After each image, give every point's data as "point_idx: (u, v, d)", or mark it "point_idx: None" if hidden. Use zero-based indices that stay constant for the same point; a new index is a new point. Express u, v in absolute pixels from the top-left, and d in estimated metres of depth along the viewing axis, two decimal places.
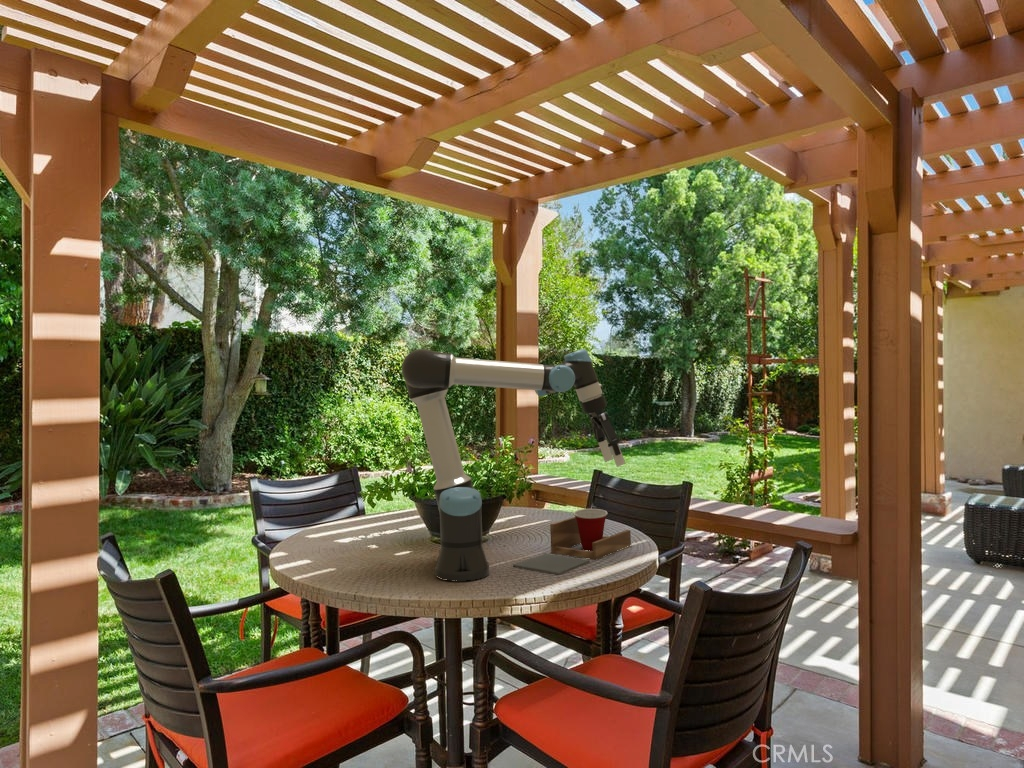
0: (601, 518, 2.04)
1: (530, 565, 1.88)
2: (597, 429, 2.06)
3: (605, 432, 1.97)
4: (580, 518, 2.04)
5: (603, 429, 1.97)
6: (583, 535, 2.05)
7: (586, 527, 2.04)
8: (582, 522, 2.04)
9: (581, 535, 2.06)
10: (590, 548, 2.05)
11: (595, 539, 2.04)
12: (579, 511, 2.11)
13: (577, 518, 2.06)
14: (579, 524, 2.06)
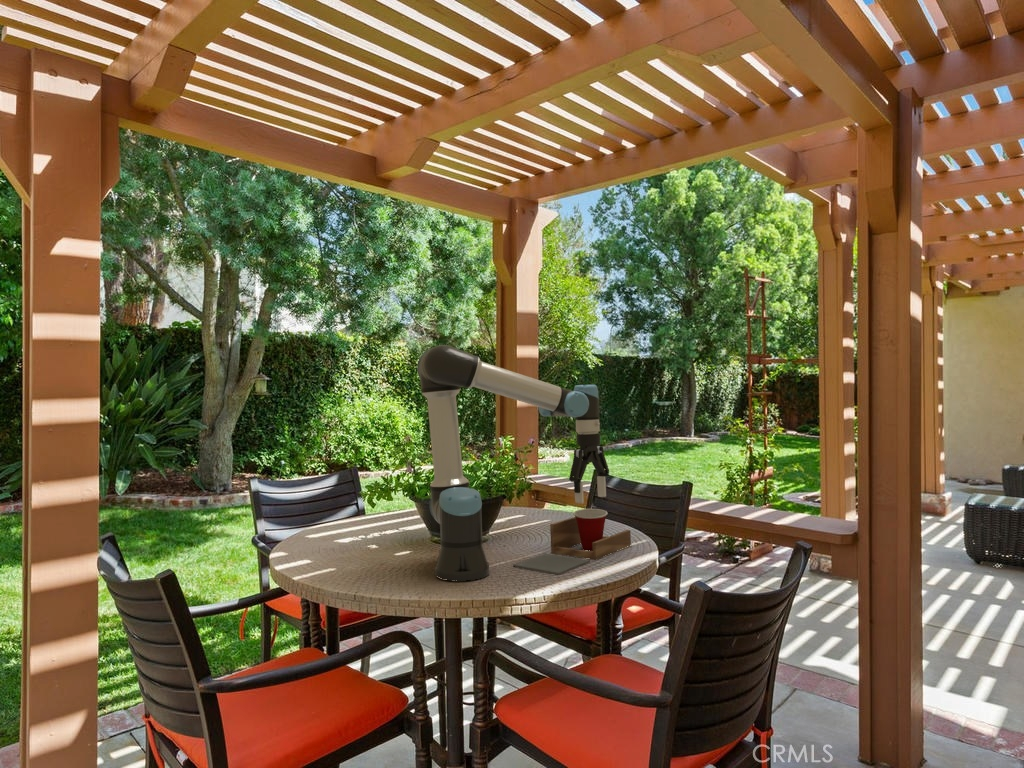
0: (601, 518, 2.04)
1: (530, 565, 1.88)
2: (592, 463, 2.11)
3: None
4: (580, 518, 2.04)
5: None
6: (583, 535, 2.05)
7: (586, 527, 2.04)
8: (582, 522, 2.04)
9: (581, 535, 2.06)
10: (590, 548, 2.05)
11: (595, 539, 2.04)
12: (579, 511, 2.11)
13: (577, 518, 2.06)
14: (579, 524, 2.06)
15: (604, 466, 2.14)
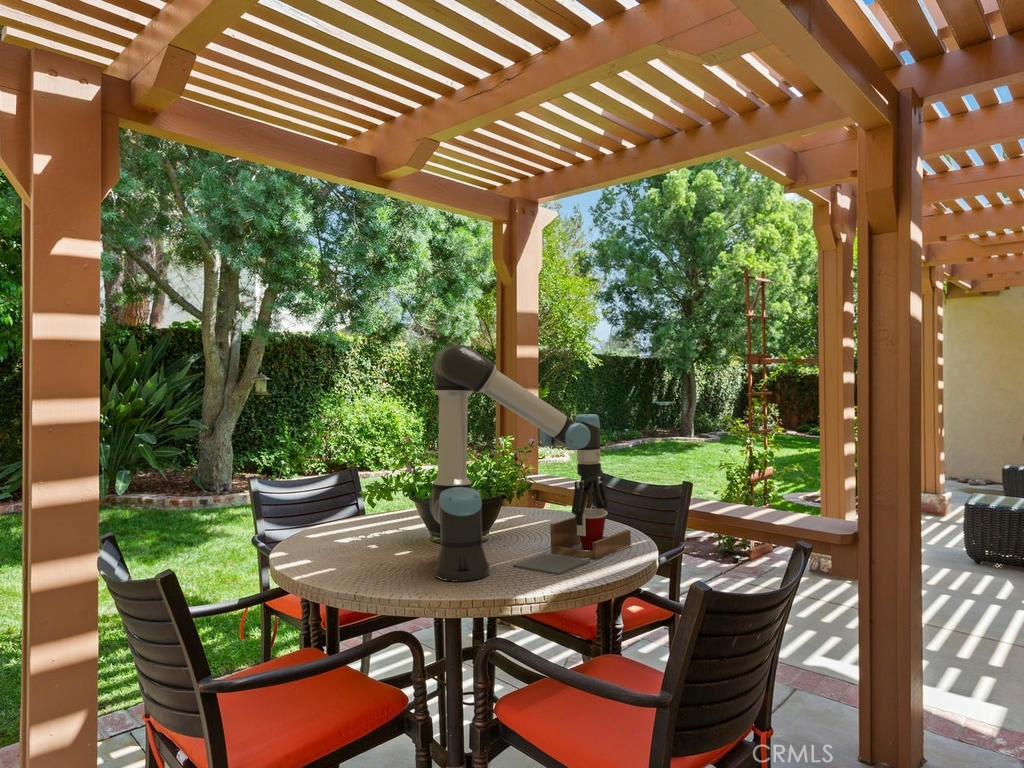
0: (601, 518, 2.04)
1: (530, 565, 1.88)
2: (592, 493, 2.11)
3: None
4: None
5: None
6: None
7: (586, 527, 2.04)
8: None
9: None
10: (590, 548, 2.05)
11: (595, 539, 2.04)
12: None
13: None
14: None
15: (603, 497, 2.13)
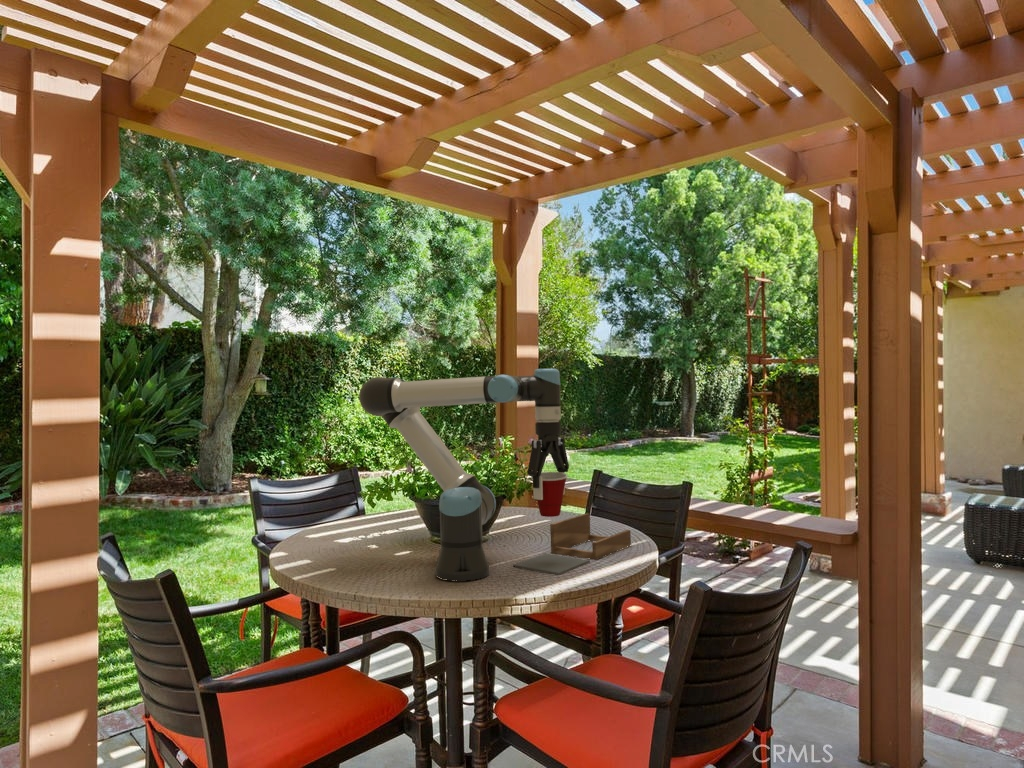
0: (560, 480, 1.87)
1: (530, 565, 1.88)
2: (551, 455, 1.94)
3: None
4: None
5: None
6: None
7: (543, 491, 1.87)
8: None
9: None
10: (548, 513, 1.88)
11: (553, 504, 1.88)
12: None
13: None
14: None
15: (564, 460, 1.96)
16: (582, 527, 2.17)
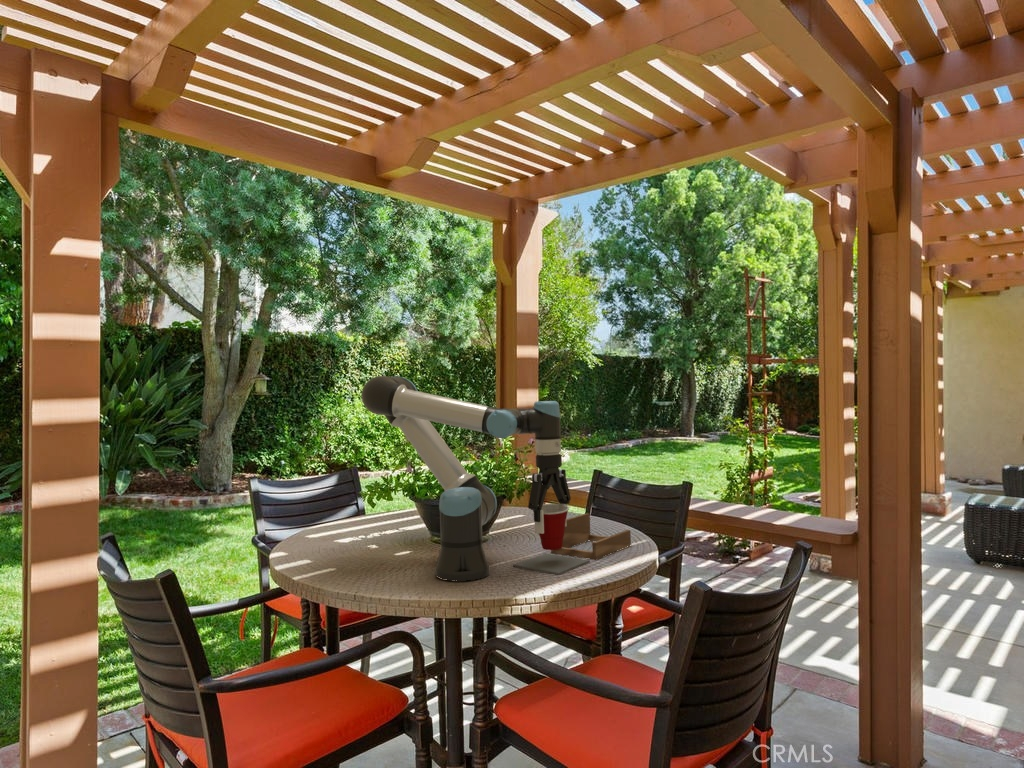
0: (561, 514, 1.86)
1: (530, 565, 1.88)
2: (553, 487, 1.94)
3: None
4: None
5: None
6: None
7: (545, 524, 1.87)
8: None
9: None
10: (550, 547, 1.88)
11: (555, 537, 1.87)
12: None
13: None
14: None
15: (565, 492, 1.96)
16: (582, 527, 2.17)
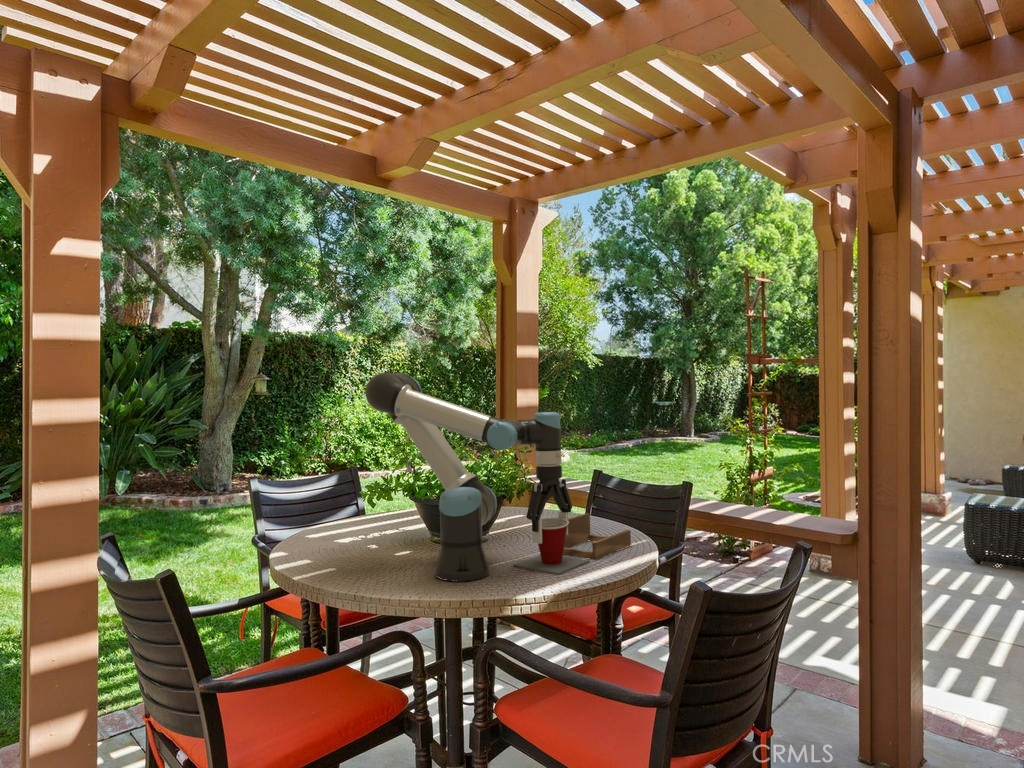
0: (561, 528, 1.86)
1: (530, 565, 1.88)
2: (553, 497, 1.94)
3: None
4: None
5: None
6: (542, 547, 1.88)
7: (545, 539, 1.87)
8: None
9: (540, 547, 1.89)
10: (550, 561, 1.88)
11: (555, 551, 1.87)
12: None
13: None
14: None
15: (566, 501, 1.96)
16: (582, 527, 2.17)
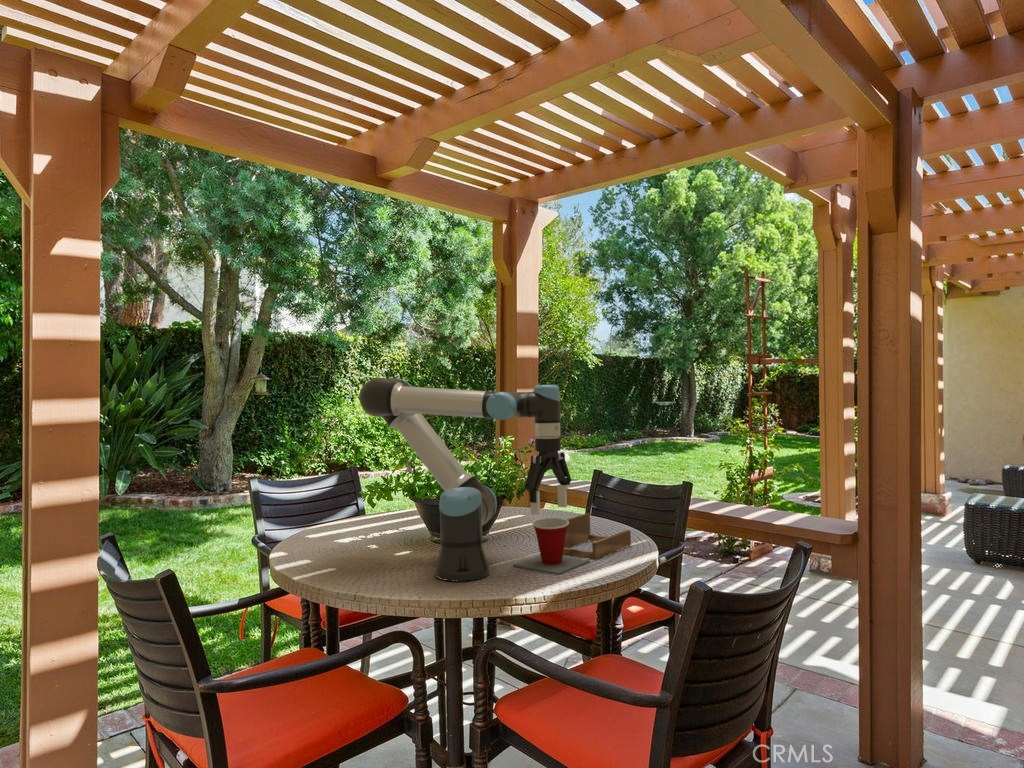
0: (561, 528, 1.86)
1: (530, 565, 1.88)
2: (552, 470, 1.94)
3: None
4: (539, 529, 1.87)
5: None
6: (542, 547, 1.88)
7: (545, 539, 1.87)
8: (541, 533, 1.87)
9: (540, 547, 1.89)
10: (550, 561, 1.88)
11: (555, 551, 1.87)
12: (539, 520, 1.94)
13: (535, 528, 1.89)
14: (538, 535, 1.89)
15: (565, 474, 1.96)
16: (582, 527, 2.17)
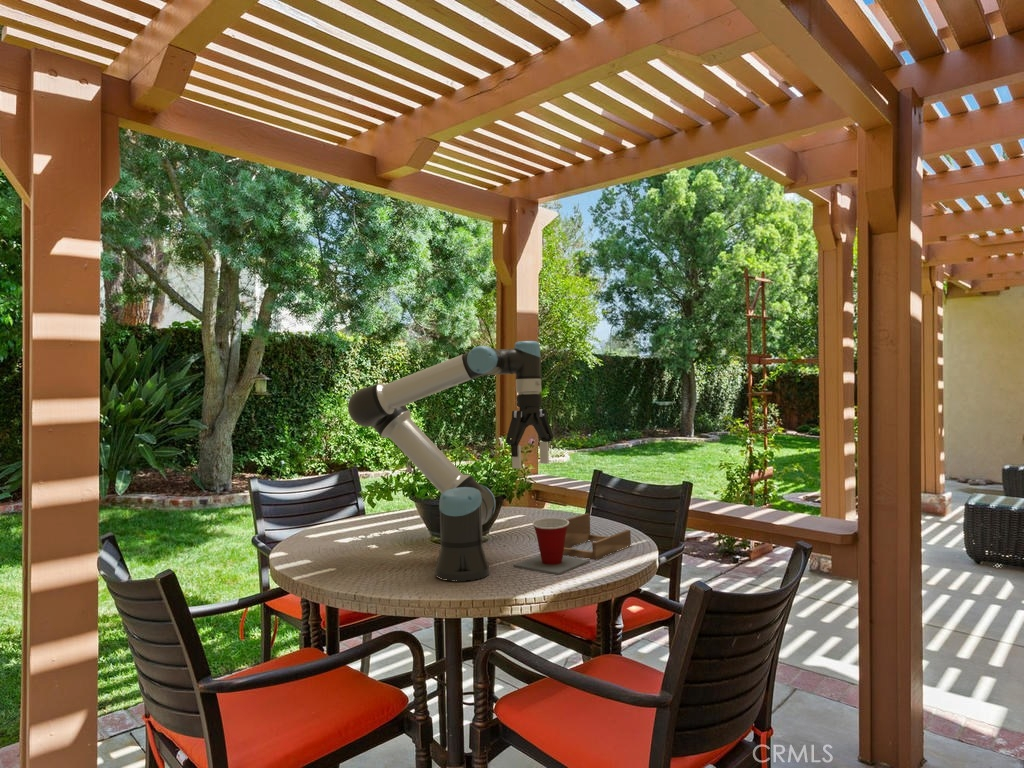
0: (561, 528, 1.86)
1: (530, 565, 1.88)
2: (534, 427, 1.96)
3: None
4: (539, 529, 1.87)
5: None
6: (542, 547, 1.88)
7: (545, 539, 1.87)
8: (541, 533, 1.87)
9: (540, 547, 1.89)
10: (550, 561, 1.88)
11: (555, 551, 1.87)
12: (539, 520, 1.94)
13: (536, 528, 1.89)
14: (538, 535, 1.89)
15: (547, 431, 1.98)
16: (582, 527, 2.17)
